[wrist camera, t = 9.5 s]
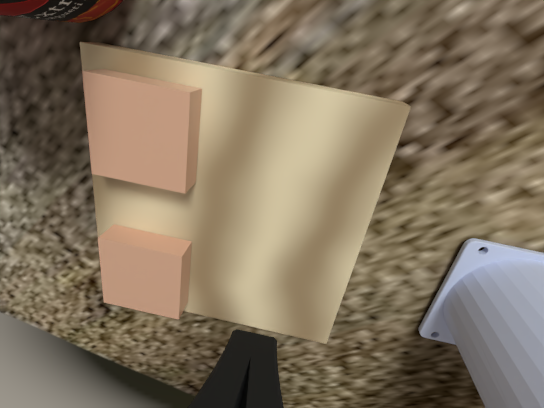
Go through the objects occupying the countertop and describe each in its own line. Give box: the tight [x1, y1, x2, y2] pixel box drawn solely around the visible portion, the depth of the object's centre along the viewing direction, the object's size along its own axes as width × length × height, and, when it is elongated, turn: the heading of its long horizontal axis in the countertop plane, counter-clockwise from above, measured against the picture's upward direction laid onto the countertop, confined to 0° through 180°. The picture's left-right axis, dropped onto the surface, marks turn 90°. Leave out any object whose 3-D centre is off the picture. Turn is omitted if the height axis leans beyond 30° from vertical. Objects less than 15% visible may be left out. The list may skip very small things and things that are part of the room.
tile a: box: [82, 69, 202, 194], centre depth 16 cm, size 2×5×5 cm
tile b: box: [98, 224, 192, 320], centre depth 20 cm, size 2×5×5 cm
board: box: [80, 42, 411, 344], centre depth 19 cm, size 16×16×2 cm
